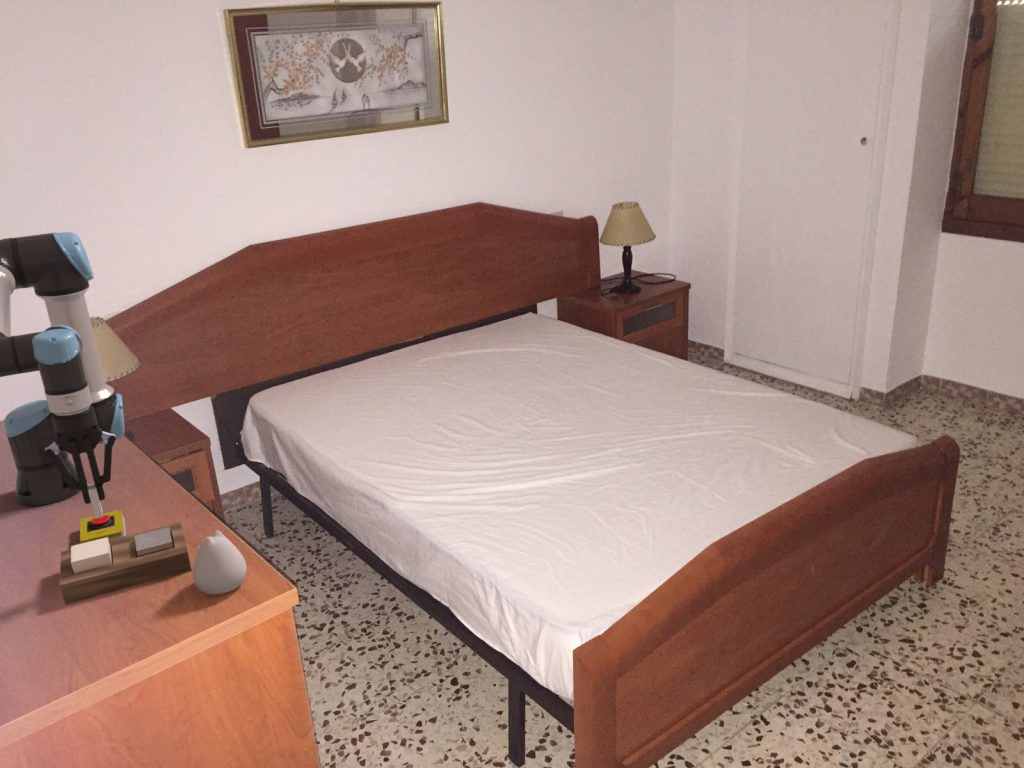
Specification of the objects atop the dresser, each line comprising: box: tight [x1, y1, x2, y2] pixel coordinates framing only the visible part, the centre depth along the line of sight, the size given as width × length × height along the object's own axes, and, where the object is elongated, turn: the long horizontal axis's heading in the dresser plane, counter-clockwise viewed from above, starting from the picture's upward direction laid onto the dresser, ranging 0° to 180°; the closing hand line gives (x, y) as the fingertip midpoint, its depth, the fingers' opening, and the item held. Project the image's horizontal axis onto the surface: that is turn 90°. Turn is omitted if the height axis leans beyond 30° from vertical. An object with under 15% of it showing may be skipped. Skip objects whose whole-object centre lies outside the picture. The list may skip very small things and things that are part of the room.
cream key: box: [70, 537, 112, 574], centre depth 171 cm, size 7×7×3 cm
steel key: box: [135, 527, 174, 557], centre depth 177 cm, size 7×7×3 cm
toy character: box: [192, 529, 248, 596], centre depth 167 cm, size 10×10×12 cm
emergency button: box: [79, 509, 127, 544], centre depth 189 cm, size 9×4×15 cm
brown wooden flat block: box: [59, 521, 192, 605], centre depth 175 cm, size 14×24×4 cm, turn 116°
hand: (98, 514), depth 170 cm, fingers closed
